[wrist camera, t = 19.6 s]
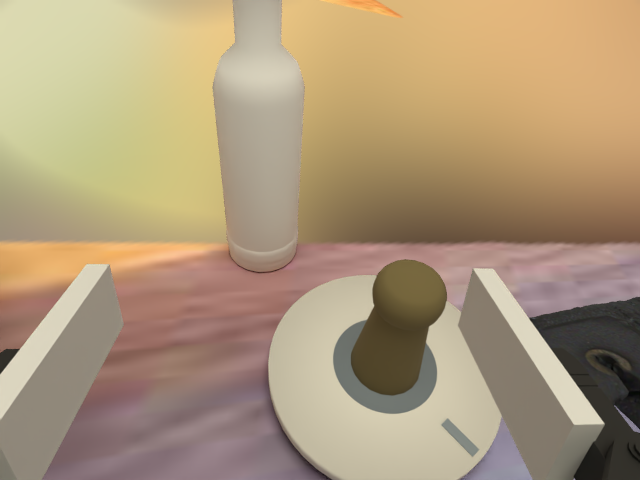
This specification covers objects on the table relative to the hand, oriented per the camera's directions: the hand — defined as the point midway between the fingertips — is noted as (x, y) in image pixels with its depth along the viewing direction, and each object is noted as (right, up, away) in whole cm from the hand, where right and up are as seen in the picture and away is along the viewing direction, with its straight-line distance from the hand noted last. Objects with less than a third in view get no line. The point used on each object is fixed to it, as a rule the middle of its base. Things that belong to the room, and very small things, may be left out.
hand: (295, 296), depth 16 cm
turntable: (+6, -10, +22) cm, 25 cm away
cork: (+7, -9, +21) cm, 24 cm away
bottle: (-6, +1, +34) cm, 35 cm away
